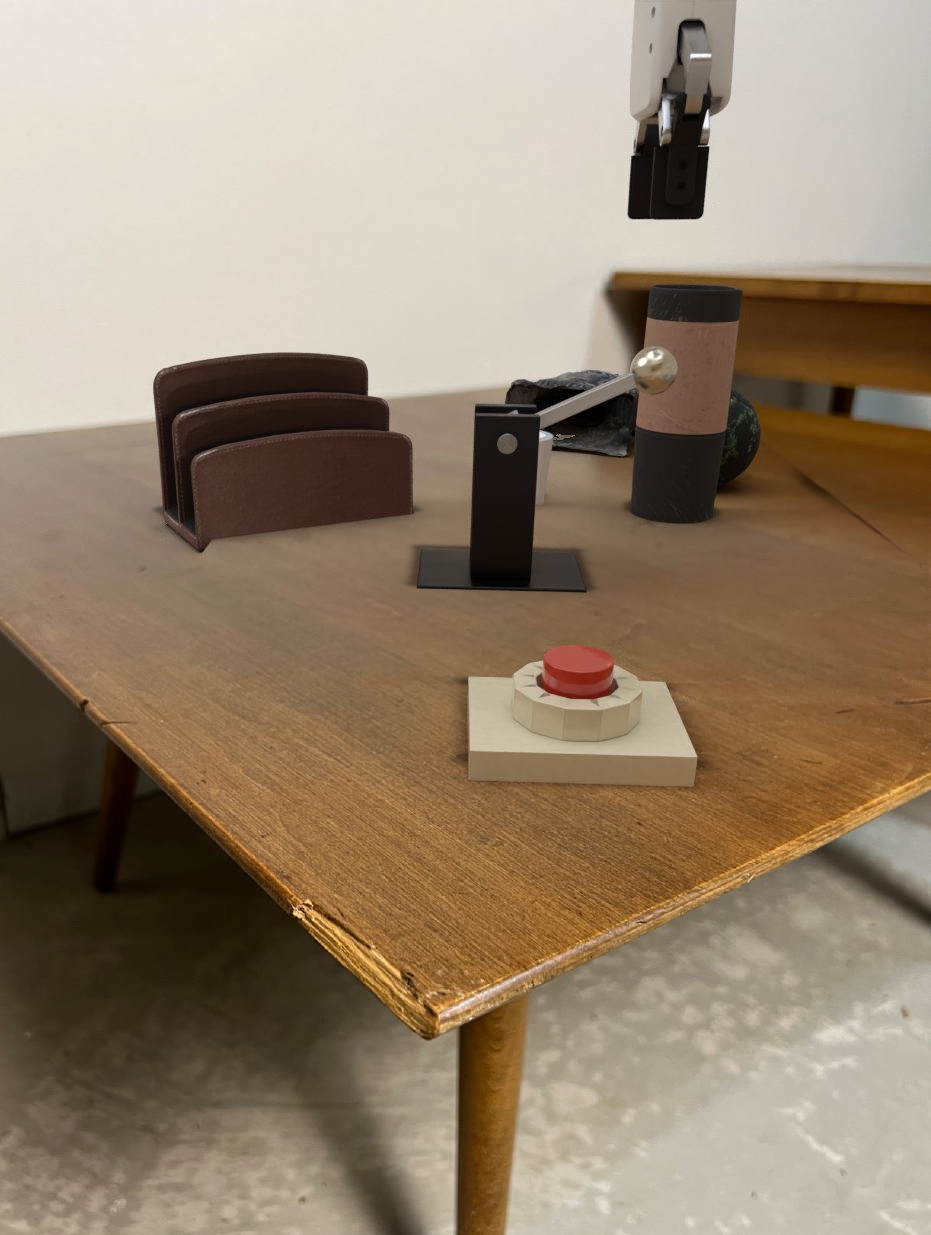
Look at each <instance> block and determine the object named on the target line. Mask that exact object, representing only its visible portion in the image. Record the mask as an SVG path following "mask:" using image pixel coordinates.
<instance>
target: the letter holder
mask: <svg viewBox="0 0 931 1235" xmlns="http://www.w3.org/2000/svg"><path fill="white" fill-rule="evenodd" d="M152 393H153V405H154V412H155V413H154V416H155V426H156V427H155V428H156V435H157V436H156V438H157V446H158V460H159V462H158V463H159V473H160V488H161V501H162V502H161V503H162V516H163V518H164V522H165V524H166V523H167V524H168V526H169V527H170V528H171V527H172V530H174V531H175V532H176V533H177V534H178V533H179V534H178V535H179V536H181V537H182V539H184V540H185V541H186V542H188V543H189V544H190V545H191V546H192V547H193V548H195V550H197V551H199V552H201V551H205V550H206V549H207V548H208V546H209V545H210V543H211V542H212V541H213V540H218V539H219V540H221V539H226V538H234V537H242V536H251V535H258V534H259V535H260V534H266V533H274V532H283V531H289V530H290V531H291V530H297V529H307V528H313V527H322V526H328V525H329V526H330V525H337V524H338V525H339V524H344V523H345V524H346V523H353V522H360V521H368V520H376V519H384V518H385V519H386V518H392V517H399V516H408V515H413V514H414V512H415V511H414V490H413V489H414V478H413V477H414V475H413V474H414V467H413V466H414V465H413V460H414V458H413V456H414V455H413V453H414V451H413V450H414V449H413V442H412V440H411V438H410V437H409V436H407V435H406V434H404V433H401V432H396V431H390V415H391V414H390V413H391V412H390V406H389V403H388V402H387V401H386V399H384V398H382V397H378V396H372V395H369V370H368V366H367V364H366V363H365V361H364V360H363V359H361V358H358V357H355V356H349V355H340V354H330V353H318V352H295V351H290V352H289V351H288V352H286V351H285V352H283V351H281V352H280V351H279V352H276V351H275V352H259V353H247V354H236V355H229V356H220V357H214V358H213V357H212V358H207V359H206V358H205V359H201V360H196V361H195V360H194V361H190V362H185V363H180V364H174V365H171V366H167V367H163V368H162V369H161V370H159V371H158V372H157V373H156V374H155V376H154V379H153V382H152ZM167 524H166V525H167Z"/></svg>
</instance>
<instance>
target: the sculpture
mask: <svg viewBox="0 0 931 1235" xmlns="http://www.w3.org/2000/svg"><path fill="white" fill-rule="evenodd" d="M619 376H621V374H619V373H612V372H609V371H604V370H601V369H585V370H581V371H574V372H573V371H566V372H564V373H562V374H559V375H557V376H555V377H549V378H540V379H539V380H537V381H534V382H533V381H531V380H528V379H525V378H521V379H520V378H519V379H515V380H514V381H511V383H510V387H509V388H508V390H507V391H506V394H505V399H504V400H505V401H504V404H524V405H536V407H537V410H536V413H538V412H540V411H542V410H544V409H547V408H549V407H551V406H554V405H556V404H558V403H560V402H563V401H565V400H567V399H569V398H572V397H574V396H576V395H578V394H581V393H583V392H585V391H587V390H590V389H592V388H594V387H597V386H599V385H601V384H603V383H606V382H608V381H610V380H612V379H615V378H617V377H619ZM638 400H639V390H638V389H637V388H634V389H632V390H630V391H627V392H625V393H623V394H620V395H618V396H616V397H614V398H611V399H609V400H607V401H604V402H602V403H600V404H598V405H595V406H593V407H591V408H589V409H586V410H584V411H582V412H579V413H577V414H575V415H573V416H570V417H568V418H566V419H563V420H561V421H559V422H557V423H554V424H552V425H550V426H547V427H545V428H543V429H541V431H545V432H548V433H551V434H552V435H553V436H554V437H557V438H559V437H558V436H556V435H557V434H558V435H559V434H561V435H575V436H573V437H570V438H564V439H563V440H557V439H556V440H553V443H552V449H553V448H555V447H560V448H568V449H571V450H580V451H588V452H600V453H604V454H607V455H608V456H615V457H617V456H621V457H625V456H627V455H629V454H630V453H631V451H632V442H633V438H632V437H633V436H632V433H633V431H636V426H637V425H636V419H637V410H638Z"/></svg>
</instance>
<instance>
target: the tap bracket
mask: <svg viewBox="0 0 931 1235" xmlns="http://www.w3.org/2000/svg"><path fill="white" fill-rule="evenodd" d="M514 410H517V411H518V414H508V413H510V412H512V411H514ZM536 410H537V407H536V405H524V404H505V403H475V404H474V417H473V418H474V421H473V422H474V423H473V450H472V478H471V508H470V535H469V536H470V540H469V543H470V544H469V549H435V548H434V549H433V548H431V549H430V548H427V549H426V548H422V549H420V554H419V555H420V556H419V565H418V574H417V581H416V582H417V583H416V589H418V590H421V589H422V590H456V591H457V590H459V591H460V590H462V591H505V592H540V593H541V592H544V593H545V592H547V593H549V592H550V593H583V594H584V593H587V588H586V585H585V582H584V580H583V579H584V578H583V576H582V573H581V569H580V567H579V565H578V561H577V558H576V555H575V553H574V552H568V551H566V552H564V551H561V552H560V551H533V549H534V536H535V535H534V534H535V533H534V532H535V516H536V505H535V502H536V485H537V468H538V451H539V435H540V415H539V414H535V413H536Z"/></svg>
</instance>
